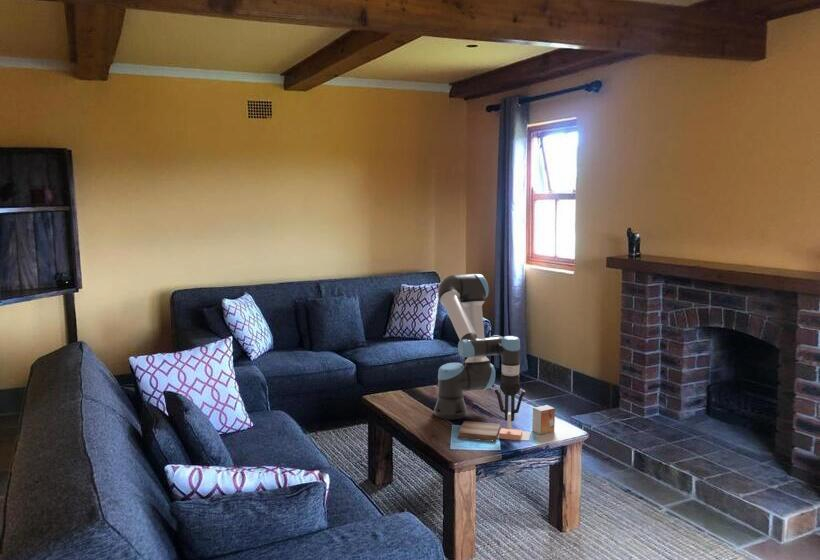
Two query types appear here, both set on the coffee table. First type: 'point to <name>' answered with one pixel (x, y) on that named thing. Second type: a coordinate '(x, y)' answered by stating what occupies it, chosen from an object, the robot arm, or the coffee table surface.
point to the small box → (543, 419)
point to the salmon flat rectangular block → (510, 434)
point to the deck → (479, 430)
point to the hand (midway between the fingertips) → (509, 428)
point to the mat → (524, 436)
